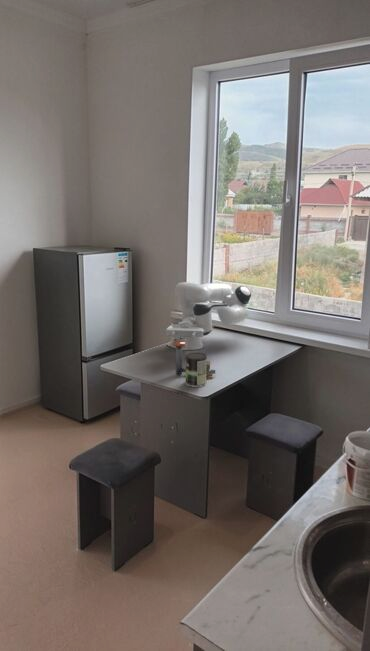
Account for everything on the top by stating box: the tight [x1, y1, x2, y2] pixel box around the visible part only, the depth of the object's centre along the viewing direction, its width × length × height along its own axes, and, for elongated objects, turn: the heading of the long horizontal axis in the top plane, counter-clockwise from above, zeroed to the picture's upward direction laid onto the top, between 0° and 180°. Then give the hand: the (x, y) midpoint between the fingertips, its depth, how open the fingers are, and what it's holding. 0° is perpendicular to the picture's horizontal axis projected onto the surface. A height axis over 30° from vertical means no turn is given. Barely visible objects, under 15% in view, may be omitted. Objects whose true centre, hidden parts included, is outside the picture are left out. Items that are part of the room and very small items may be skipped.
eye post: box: [206, 360, 213, 380], centre depth 252 cm, size 7×8×7 cm
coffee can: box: [185, 352, 208, 388], centre depth 241 cm, size 10×10×14 cm
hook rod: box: [173, 341, 216, 376], centre depth 251 cm, size 22×6×17 cm, turn 82°
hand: (182, 335), depth 262 cm, fingers open, 8 cm apart
